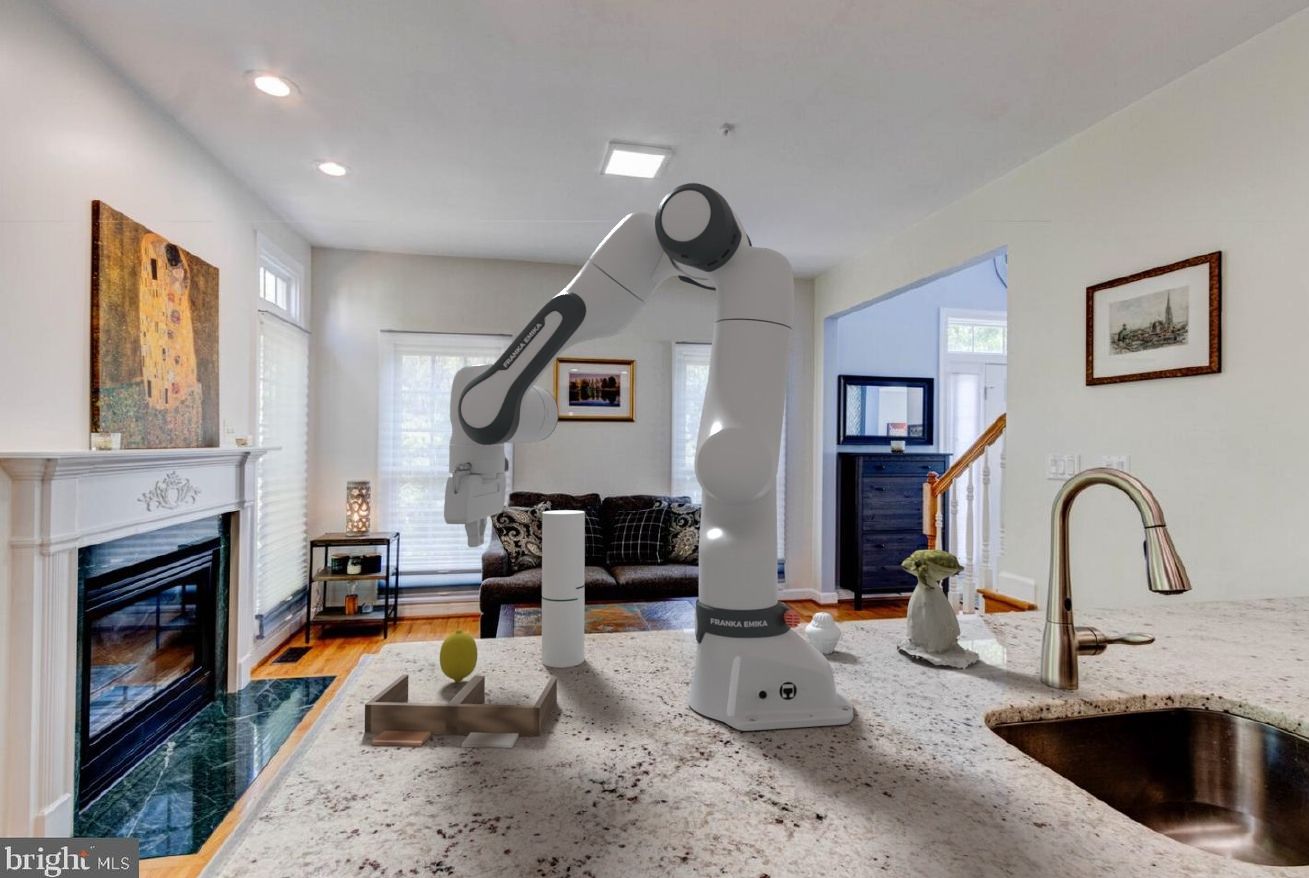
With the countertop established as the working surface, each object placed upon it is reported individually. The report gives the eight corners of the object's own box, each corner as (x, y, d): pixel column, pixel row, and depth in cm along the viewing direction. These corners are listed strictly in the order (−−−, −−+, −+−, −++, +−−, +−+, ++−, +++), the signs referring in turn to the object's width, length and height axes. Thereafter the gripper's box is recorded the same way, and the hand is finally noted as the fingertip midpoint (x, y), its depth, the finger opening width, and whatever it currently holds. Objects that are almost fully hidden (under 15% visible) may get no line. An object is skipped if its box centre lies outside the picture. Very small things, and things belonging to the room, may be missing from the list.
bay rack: (556, 702, 89) (556, 677, 89) (533, 748, 75) (533, 718, 75) (402, 699, 90) (402, 674, 90) (351, 744, 76) (351, 714, 76)
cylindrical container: (592, 658, 109) (593, 511, 109) (565, 670, 103) (566, 514, 103) (560, 651, 112) (561, 509, 113) (532, 662, 106) (533, 512, 107)
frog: (934, 673, 101) (933, 557, 102) (881, 649, 114) (880, 546, 114) (993, 665, 105) (992, 553, 106) (935, 643, 117) (934, 543, 118)
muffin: (838, 658, 108) (837, 617, 108) (802, 654, 111) (801, 613, 111) (843, 648, 114) (843, 609, 114) (809, 644, 116) (809, 606, 117)
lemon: (466, 690, 94) (466, 635, 94) (432, 687, 95) (432, 633, 95) (483, 677, 99) (484, 625, 99) (451, 674, 100) (451, 623, 101)
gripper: (475, 464, 95) (473, 556, 95) (512, 461, 116) (511, 538, 115) (433, 463, 96) (432, 555, 95) (477, 461, 116) (476, 537, 116)
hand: (475, 545), depth 106 cm, fingers closed
